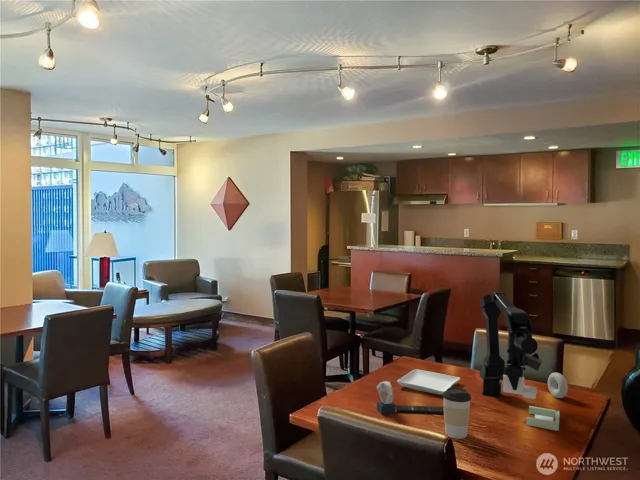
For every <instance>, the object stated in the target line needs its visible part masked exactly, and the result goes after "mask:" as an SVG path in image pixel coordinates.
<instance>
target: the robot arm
mask: <svg viewBox="0 0 640 480" xmlns="http://www.w3.org/2000/svg"><path fill="white" fill-rule="evenodd" d="M479 307H480V313H481V315H483V317H484V318H485V333H486V335H485V336H486V354H485V357H484V358H483V361H482V364H483V365H482V367H481V368H480V370H479V373H478V374H479V377H480V378H481V379H482V380H483V381H482V382H483V383H482V392H481V393H482V394H481V395H484V396H490V397H496V398H497V397H498V398H499V397H500V396H501V394H502V393H503V382H501V381H503V375H507V376H508V378H509V381H510V383H511V386H512V388H513V390H517V386H518V382H519V378H520V377H523V376H524V375H525V371H526V369H527V368H526V366H527V367H528V368H531V369H533V370H534V371H537V372H538V371H539V370H540V368H541V366H542V363H543V360H542V358H540V354H539V353H536V352H537V350H538V347H539V346H538V342H537V340H535V338H533V334H534V326H533V324H532V321H531V319H530V316H529V315H528V313H527V312H526V311H525V310H523V309H521V308H518V307H516V306H515V305H514V303H512V301H511V300H510V299H509V298H508V297H507V294H506V293H505V292H503V291H493V292H491V293H490V294H487V295H484V296H482V298H481V299H480V300H479ZM501 314H503V315H504V323H505V325H506V327H507V329H506V331H507V332H508V335H507V336H508V337H507V349H506V353H507V360H506V362H505V360H504V359H503V358H502V357H501V355H500V341H499V340H500V336H499V317H500V316H501Z"/></svg>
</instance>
